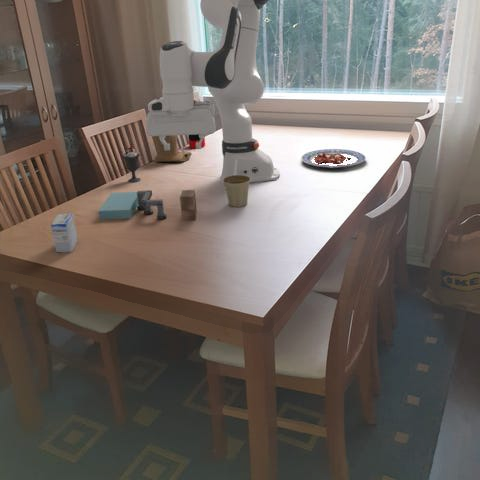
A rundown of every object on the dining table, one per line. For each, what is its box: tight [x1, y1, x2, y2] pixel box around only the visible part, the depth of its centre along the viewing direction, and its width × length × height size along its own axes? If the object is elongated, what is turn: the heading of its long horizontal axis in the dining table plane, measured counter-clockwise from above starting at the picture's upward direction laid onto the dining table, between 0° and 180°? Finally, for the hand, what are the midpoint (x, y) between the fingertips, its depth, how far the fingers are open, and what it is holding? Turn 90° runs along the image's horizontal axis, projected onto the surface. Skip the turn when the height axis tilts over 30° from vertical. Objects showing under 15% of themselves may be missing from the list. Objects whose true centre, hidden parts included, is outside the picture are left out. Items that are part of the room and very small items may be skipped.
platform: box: [97, 191, 139, 221], centre depth 171 cm, size 10×17×3 cm, turn 179°
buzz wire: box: [136, 189, 167, 221], centre depth 165 cm, size 11×12×6 cm
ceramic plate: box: [300, 148, 367, 168], centre depth 209 cm, size 26×26×3 cm
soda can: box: [187, 134, 206, 150], centre depth 240 cm, size 8×8×12 cm
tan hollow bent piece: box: [151, 135, 192, 163], centre depth 219 cm, size 15×12×15 cm
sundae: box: [121, 142, 142, 183], centre depth 196 cm, size 7×7×15 cm
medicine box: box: [50, 213, 79, 253], centre depth 144 cm, size 8×4×9 cm, turn 5°
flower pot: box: [221, 175, 251, 208], centre depth 169 cm, size 9×9×9 cm
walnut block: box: [179, 189, 198, 222], centre depth 160 cm, size 4×6×8 cm, turn 179°
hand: (183, 149), depth 153 cm, fingers open, 8 cm apart
